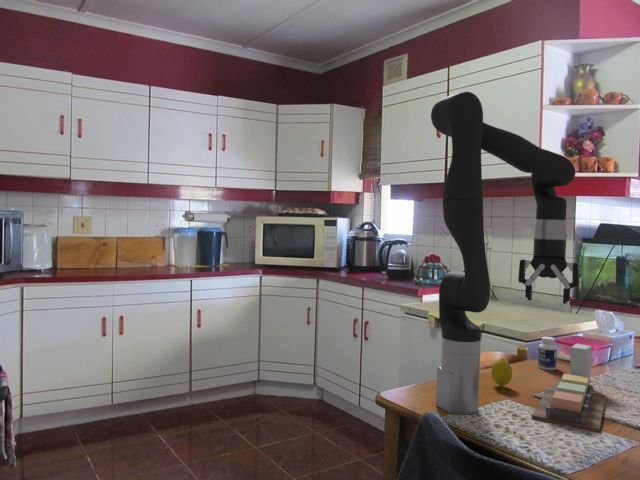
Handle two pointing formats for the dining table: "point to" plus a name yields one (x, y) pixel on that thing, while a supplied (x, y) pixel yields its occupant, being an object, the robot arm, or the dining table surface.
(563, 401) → the pad terracotta
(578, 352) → the skincare box
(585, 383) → the pad ochre
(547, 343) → the pill bottle
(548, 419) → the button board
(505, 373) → the lemon
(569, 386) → the pad sage
